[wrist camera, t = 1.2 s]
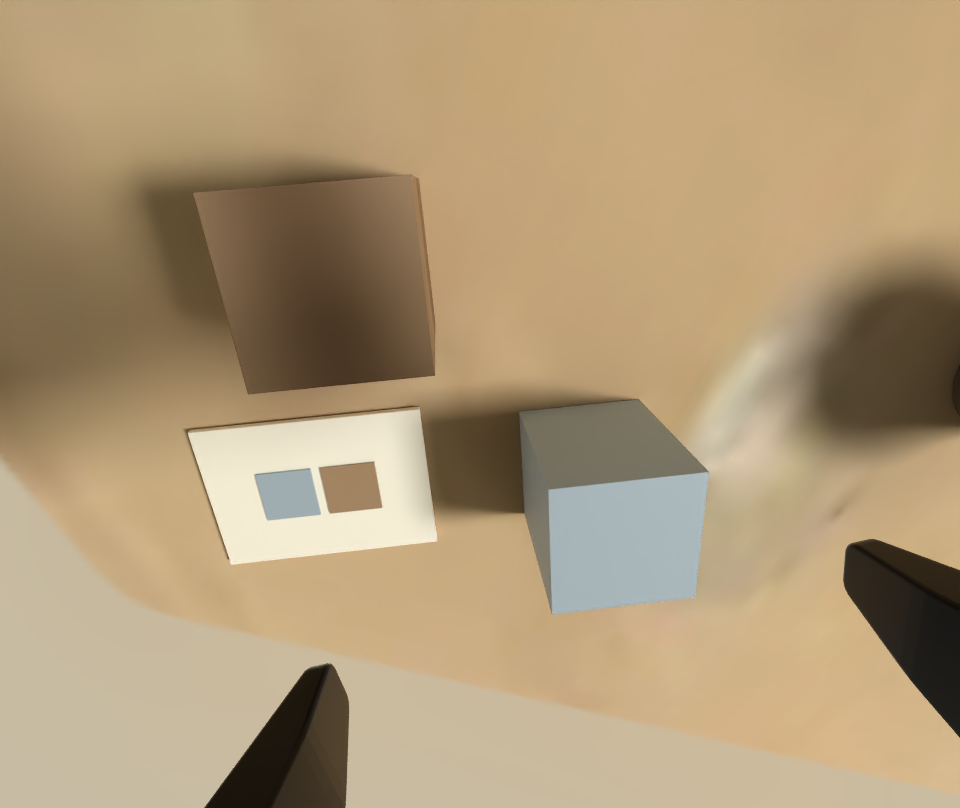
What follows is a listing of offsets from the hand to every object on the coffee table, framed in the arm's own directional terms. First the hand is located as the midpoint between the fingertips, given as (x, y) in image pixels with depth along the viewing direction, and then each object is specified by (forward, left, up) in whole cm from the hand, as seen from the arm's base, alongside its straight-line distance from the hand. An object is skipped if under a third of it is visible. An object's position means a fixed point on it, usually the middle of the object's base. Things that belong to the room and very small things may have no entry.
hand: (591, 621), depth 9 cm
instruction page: (+8, +4, -13) cm, 16 cm away
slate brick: (-3, +4, -13) cm, 14 cm away
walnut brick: (+5, -5, -13) cm, 15 cm away
